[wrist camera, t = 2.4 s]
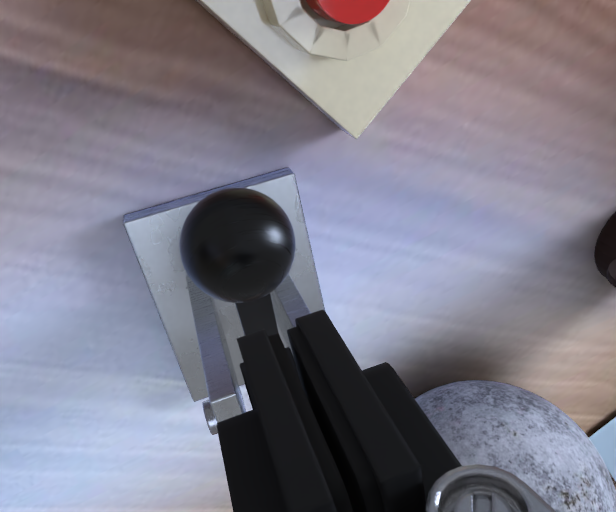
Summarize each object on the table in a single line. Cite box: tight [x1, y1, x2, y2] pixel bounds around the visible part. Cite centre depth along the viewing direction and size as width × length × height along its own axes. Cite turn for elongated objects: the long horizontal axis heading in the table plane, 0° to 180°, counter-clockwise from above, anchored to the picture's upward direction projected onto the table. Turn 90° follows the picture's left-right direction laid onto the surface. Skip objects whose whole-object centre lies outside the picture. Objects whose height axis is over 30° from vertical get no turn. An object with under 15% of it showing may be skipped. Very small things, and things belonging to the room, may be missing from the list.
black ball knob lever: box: [179, 188, 301, 410], centre depth 19 cm, size 13×3×3 cm, turn 12°
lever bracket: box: [123, 168, 325, 435], centre depth 27 cm, size 12×9×12 cm
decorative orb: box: [415, 380, 616, 512], centre depth 35 cm, size 15×14×15 cm
